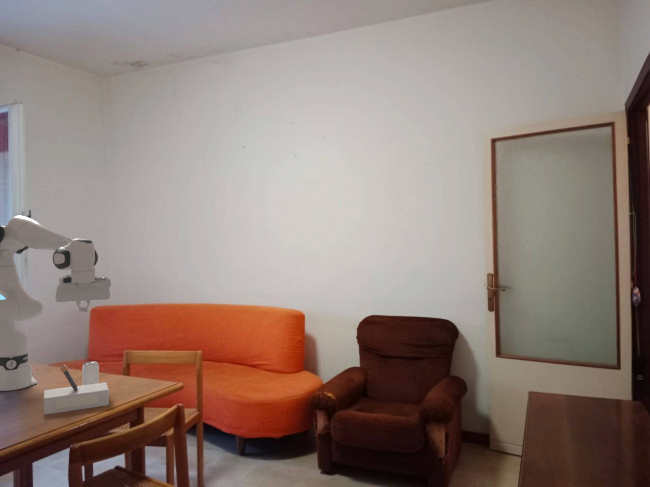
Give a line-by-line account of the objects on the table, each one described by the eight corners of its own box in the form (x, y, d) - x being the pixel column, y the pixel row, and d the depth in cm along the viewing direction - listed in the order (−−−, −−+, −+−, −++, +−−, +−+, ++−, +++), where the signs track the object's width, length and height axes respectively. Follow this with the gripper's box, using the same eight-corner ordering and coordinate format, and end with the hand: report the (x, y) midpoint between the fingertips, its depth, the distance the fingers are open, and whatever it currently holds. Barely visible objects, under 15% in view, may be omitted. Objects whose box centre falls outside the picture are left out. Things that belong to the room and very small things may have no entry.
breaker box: (44, 405, 192) (44, 390, 192) (106, 396, 203) (106, 382, 203) (44, 415, 182) (43, 398, 182) (109, 405, 192) (108, 389, 192)
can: (102, 388, 215) (101, 361, 215) (93, 393, 208) (93, 364, 208) (87, 388, 215) (87, 360, 215) (79, 392, 209) (78, 364, 209)
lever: (73, 389, 194) (59, 366, 191) (78, 386, 195) (64, 363, 192) (73, 392, 190) (59, 368, 188) (79, 389, 191) (65, 365, 189)
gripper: (109, 276, 210) (110, 309, 210) (55, 278, 201) (55, 312, 201) (111, 277, 205) (111, 310, 205) (55, 279, 195) (55, 314, 195)
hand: (83, 311), depth 203 cm, fingers closed
